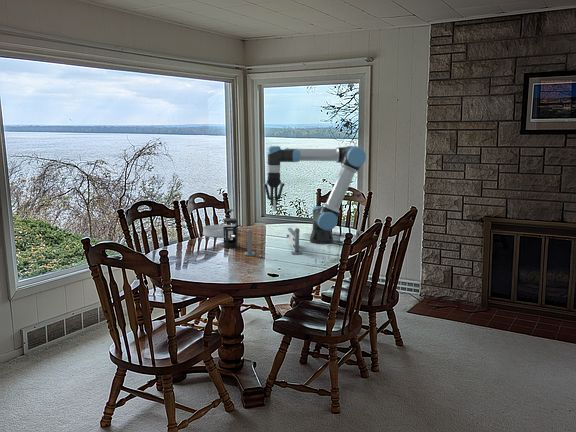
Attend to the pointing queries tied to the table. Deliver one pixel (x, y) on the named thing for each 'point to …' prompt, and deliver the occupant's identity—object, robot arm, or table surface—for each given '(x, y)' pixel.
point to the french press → (227, 242)
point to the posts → (250, 253)
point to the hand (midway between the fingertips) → (273, 210)
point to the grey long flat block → (291, 237)
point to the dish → (215, 230)
